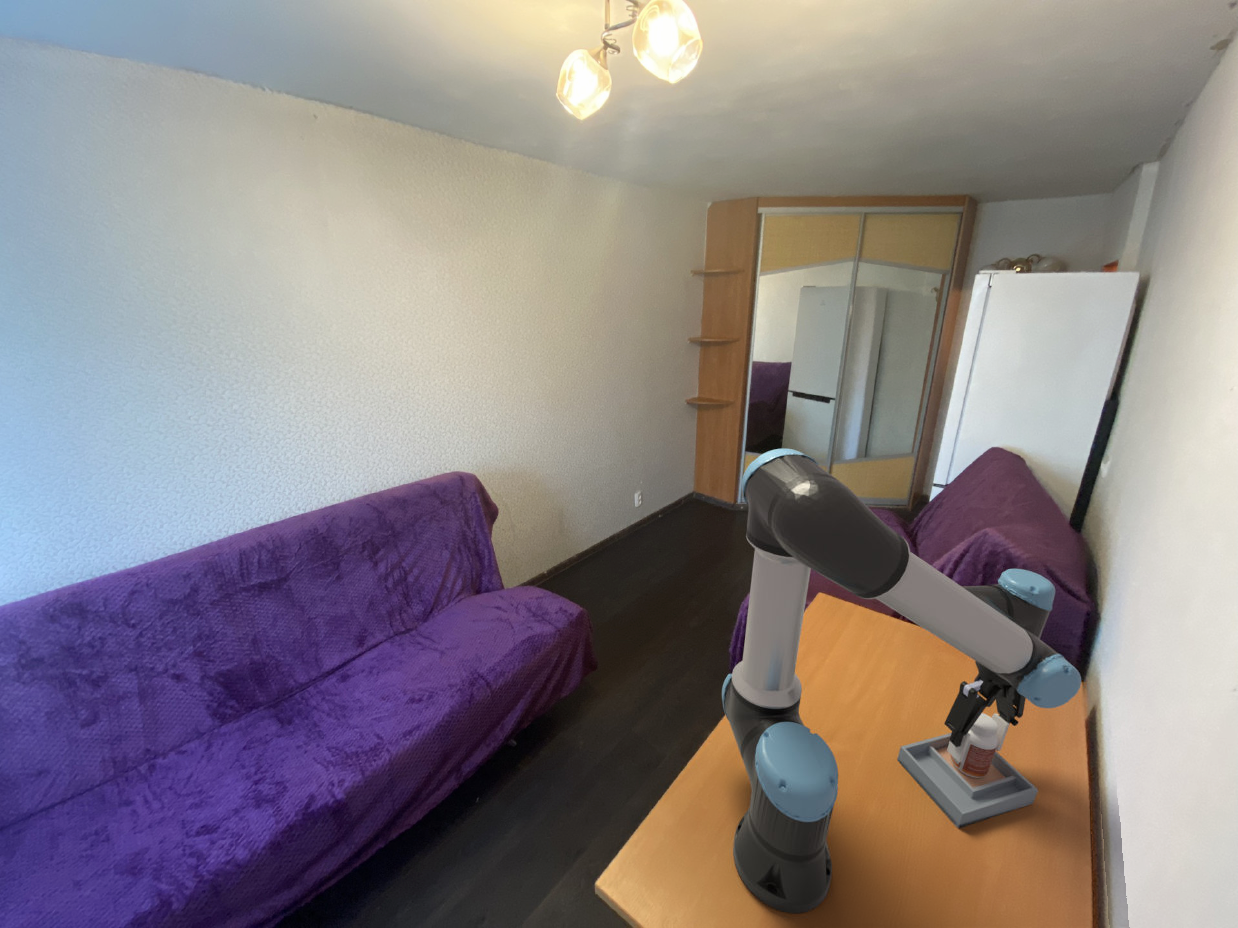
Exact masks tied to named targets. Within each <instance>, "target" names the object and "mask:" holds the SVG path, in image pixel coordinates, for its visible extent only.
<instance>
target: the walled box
mask: <svg viewBox="0 0 1238 928" xmlns="http://www.w3.org/2000/svg"><path fill="white" fill-rule="evenodd" d="M951 733H952V732H950V733H945V734H943V735H938V736H935V737H931V738H927V739H924V740H920V741H916V742H911V743H909V744H905V745H902V746H900V747H899V751H898V755H897V758H896V760H897V762H898V763H899V764H900V765H901V766H902V767H903V768H904V769H905V771H906V772H907V774H909V775H910V777H912V779H914V781H915V782H916V783H917V784H918V785H919V786H920V787H921V789H922V790H923V791H924V792H925V793H926V794H927V796H929V798H930V799H932V801H933V802H934V803H935V805H936V806H937V807H938V808H939V809H940V810H941V811H942V813H944V814H945V816H946V817H947V818H948V819H949V820H950V821H951V822H952V824H953V825H954V826H955V827H956V828H957V829H960V828H964V827H967V826H969V825H970V826H971V825H973V824H976V823H978V822H981V821H984V820H987V819H991V818H993V817H997V816H1000V815H1003V814H1007V813H1009V812H1011V811H1015V810H1017V809H1018V810H1019V809H1021V808H1024V807H1027V806H1031V805H1033V804H1034V801H1035V798H1036V797H1037V794H1038V792H1039V789H1038V788H1037V787H1036V786H1035V785H1034V784H1033V783H1031V781H1029V780H1028V779H1027V778H1026V777H1025V776H1024V775H1022V773H1020V772H1019V770H1017V769H1016V768H1015V767H1014V766H1013V765H1011V764H1010V763H1009V762H1008V761H1007V760H1006V759H1005V758H1004V757H1003V756H1002V755H1000V753H999V752H998V751H995V753H994V756H993V759H992V762H991V765H990V767H989V770H988V773H987V775H986V776H985V777H983V778H973V777H970V776H967V775H965V774H963V773H962V772H960V771H959V770H958V769H957V768H956V767H955V766H954V765H953V763H952V762H951V759H950V753H949V752H948V751H947V749H948V745H949V742H950V736H951Z"/></svg>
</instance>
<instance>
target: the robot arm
mask: <svg viewBox="0 0 1238 928" xmlns="http://www.w3.org/2000/svg"><path fill="white" fill-rule="evenodd" d="M743 473H744V474H743V475H742V479H741V486H740V487H741V494H742V497H743V499H744V500H743V501H744V502H745V504H746V505H748V511H747V512H748V515H747V523H746V536H745V537H746V540H747V542H748V543H749V544H750V545H751V547H753V548H754V553H753V554H754V555H753V563H752V571H751V582H750V590H749V599H748V609H747V617H746V627H745V635H744V636H745V637H744V638H745V639H744V646H743V654H742V660H741V661H739V662H738V663H737V664H736V665H735V666H734V668H733V669H732V673H728V674H727V676H726V678H725V679H724V681H723V685H722V689H721V700H722V707H723V711H724V715H725V717H726V719H727V720H728V722H729V725H730V728H731V730H732V734H733V736H734V737H733V738H734V739H735V742H736V745H737V747H738V750H739V751H738V752H739V754H740V756H741V759H742V762H743V764H744V768H745V770H746V773H747V775H748V779H749V782H750V788H751V796H750V802H749V808H748V810H747V811H746V812H745V813H744V815H743V816H742V818H741V819H740V820H739V822H738V824H737V826H736V829H735V833H734V836H733V847H732V852H733V853H732V854H733V861H734V865H735V867H736V870H737V873H738V875H739V877H740V879H741V881H742V882H743V883H744V885H745V887H746V888H748V890H749V891H750V892H751V893H752V895H754V896H755V898H757V899H758V900H760V901H761V902H762V903H764V904H765V905H766V906H769V907H771V908H772V909H775V910H777V911H779V912H784V913H789V914H802V913H807V912H810V911H812V910H814V909H815V908H817V907H818V906H819V905H820V904H821V903H822V902H823V901H824V900H825V898H826V897H827V895H828V892H829V889H830V884H831V881H832V880H831V879H832V872H833V871H832V870H833V866H832V865H833V863H832V859H831V854H830V850H829V847H828V846H829V845H828V841H827V837H828V832H829V828H830V824H831V819H832V814H833V810H834V806H835V803H836V800H837V798H838V797H837V796H838V790H839V785H838V784H839V769H838V764H837V761H836V758H835V755H834V753H833V751H832V749H831V748H830V746H829V744H827V742H826V741H825V740H824V739H823V738H822V737H821V735H819V734H818V733H817V732H816V733H815V732H814V733H812V732H811V730H810V728H809V727H807V726H806V725H804V723H803V720H802V719H801V716H800V712H799V711H800V704H801V699H802V698H801V697H802V689H803V688H802V682H801V680H800V678H799V677H798V675H797V674H796V665H797V660H798V654H799V646H800V640H801V635H802V627H803V623H804V621H803V620H804V615H805V609H806V601H807V595H808V589H809V584H810V583H809V582H810V575H811V570H812V571H814V572H816V573H817V574H819V575H821V576H822V577H823V578H826V579H827V580H830V581H831V582H832V583H835V584H836V585H838V586H839V587H841V588H843V589H845V590H846V591H848V592H849V593H851V594H853V595H854V596H856V597H858V598H861V599H864V600H874V599H875V600H878V601H879V602H881V603H882V604H883V605H885V606H887V607H888V608H890V609H891V610H893V611H895V612H897V613H898V614H900V615H901V616H904V618H906V619H907V620H910V621H911V622H912V623H914V624H916V625H918V626H919V627H921V628H922V629H924V630H925V631H928V633H930V634H932V635H934V636H935V637H936V638H939V639H940V640H941V641H943V642H944V643H946V644H948V645H949V646H950V647H951V646H952V647H953V648H955V649H956V650H958V651H959V652H961V653H962V654H964V655H966V656H968V657H969V658H971V659H972V660H974V662H975V667H976V668H977V671H978V673H977V676H975V678H974V680H973V682H970V683H968V682H967V681H964V680H963V681H962V682H960V684H959V690H958V691H959V692H958V694H957V695H956V698H955V700H954V702H953V704H952V705H951V708H950V710H949V712H948V714H947V716H946V719H945V721H944V725H945V726H946V727H947V728H948V729H949V730H950V731H951V732H950V733H951V736H950V742H949V745H948V749H947V751H948V752H949V753H950V754H951V755H952V756H953V757H954V758H955V759H956V760H957V761H958V762H962V761H963V758H964V755H965V752H966V748H967V745H968V742H969V739H970V736H971V735H970V734H969V733H968V732H969V730H970V729H971V728H972V726H973V725H974V723H975V722H976V721H977V719H978V718H979V716H980V715H981V713H984V711H985V709H986V708H991V706H992V705H993V704H994V702H995V703H996V711H997V713H996V712H995V713H992V716H991V718H992V719H993V720H994V721H995V722H996V723H997V725H998V730H997V733H996V735H997V738H998V745H997V748H996V752H1001V750H1002V747H1003V744H1004V742H1005V738H1006V737H1007V733H1008V731H1009V730H1008V729H1009V727H1010V724H1011V725H1012V726H1014V727H1015V726H1017V725H1018V724H1019V720H1018V719H1020V718H1022V716H1024V711H1025V704H1026V700H1028V701H1029V702H1030V703H1031V704H1032V705H1035V706H1036V707H1038V708H1041V709H1054V708H1055V709H1056V708H1057V707H1061V706H1064V705H1065V704H1067V703H1069V702H1070V701H1071V700H1072V699H1073V698H1074V697H1075V696H1076V695H1077V694H1078V692H1079V690H1080V688H1081V685H1082V676H1081V673H1080V672H1079V670H1078V669H1077V668H1076V667H1075V666H1074V665H1072V664H1071V663H1070V662H1069V661H1068V660H1067V659H1066V658H1065V656H1063V655H1062V654H1061V653H1058V652H1057V651H1056V650H1054V649H1053V648H1052V647H1051V646H1049V645H1048V644H1046V643H1045V642H1044V641H1043V640H1041V636H1042V633H1043V631H1044V628H1045V626H1046V624H1047V623H1046V622H1047V621H1048V618H1049V616H1050V613H1051V612H1052V611H1053V604H1054V600H1055V595H1056V588H1055V585H1054V584H1053V583H1052V582H1051V581H1050V579H1047V578H1046V577H1044V576H1043V575H1041V574H1038V573H1036V572H1034V571H1030V570H1028V569H1027V570H1026V569H1023V568H1009V569H1006V570H1005V571H1003V572H1002V573H1001V575H1000V577H999V578H998V579H997V582H998V583H997V584H988V585H966V586H965V585H960V584H958V583H957V582H956V581H954V580H953V579H951V578H950V577H949V576H947V575H945V574H944V573H942V572H941V571H939V570H938V569H936V568H935V567H934V566H932V565H930V564H929V563H928V562H926V561H924V560H923V559H922V558H920V557H919V556H917V555H916V554H914V553H913V552H911V548H910V545H909V543H908V541H907V540H906V538H905V537H903V536H902V534H901V535H900V534H899V533H898V532H896V531H895V530H893V529H892V528H891V527H890V526H888V525H887V524H886V523H885V522H884V520H882V519H880V517H879V516H878V515H877V514H876V513H874V512H873V511H872V510H871V509H870V508H869V507H868V505H867V504H865V503H864V501H862V500H861V499H860V498H859V496H857V494H856V493H855V492H853V491H852V490H851V489H850V488H849V487H848V486H847V485H845V484H844V483H843V482H841V481H840V480H839V479H837V478H836V477H835V476H833V475H832V474H831V473H830V472H828V471H826V470H825V469H824V468H823V467H822V466H820V464H819V463H818V462H817V461H816V460H815V459H814V458H813V457H812V456H809V455H806V454H804V453H803V452H801V451H799V450H796V449H791V448H777V449H772V450H768V451H766V452H764V453H761V455H759V456H758V457H757V458H756V459H755V460H752V461H751V462H750V464H749V465H748V466H747V467H746V469H745V471H744V472H743ZM983 697H984V698H983ZM1016 718H1018V719H1016Z"/></svg>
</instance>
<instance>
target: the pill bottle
mask: <svg viewBox="0 0 1238 928" xmlns="http://www.w3.org/2000/svg"><path fill="white" fill-rule="evenodd" d="M997 730H998V725H997V723H996V722H995V721H994V720H993V719H992V716H990V715H988V714H986V713H984V712H982V713H981V715H980V716H979V718H978V719H977V721H976V722H975V723H974V725H973V726H972V728H971V729H970V730H969V732H968V733H969V734H970V735H971V736H970V739H969V742H968V745H967V748H966V752H965V755H964V758H963V761H962V762H958V761H957V760H956V759H955V758H954V757H953V756H952V755H951V754H950V759H951V762H952V763H953V765H954V766H955V767H956V768H957V769H958V770H959V771H960V772H962V773H963V774H965V775H967V776H970V777H973V778H983V777H985V776H986V775H987V773H988V770H989V767H990V765H991V762H992V759H993V756H994V753H995V751H996V748H997V745H998V738H997V735H996V733H997ZM996 752H997V751H996Z"/></svg>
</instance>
